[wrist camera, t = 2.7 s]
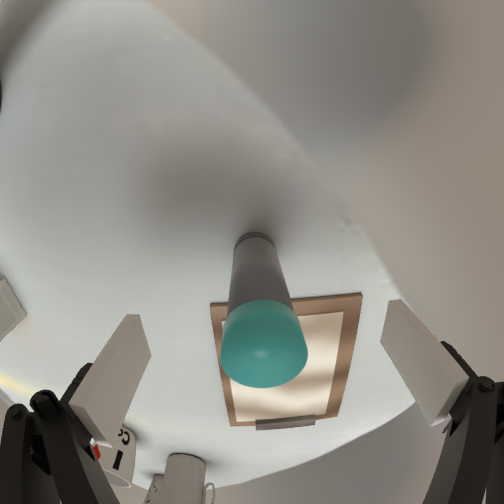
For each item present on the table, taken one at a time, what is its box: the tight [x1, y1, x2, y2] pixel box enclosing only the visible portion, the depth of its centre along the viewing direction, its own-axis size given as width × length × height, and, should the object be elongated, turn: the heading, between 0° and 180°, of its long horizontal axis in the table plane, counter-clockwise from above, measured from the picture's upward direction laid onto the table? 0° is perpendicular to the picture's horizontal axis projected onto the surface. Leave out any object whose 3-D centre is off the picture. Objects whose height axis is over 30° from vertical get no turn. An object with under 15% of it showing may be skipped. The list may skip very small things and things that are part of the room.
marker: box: [220, 232, 308, 388], centre depth 18 cm, size 4×4×14 cm
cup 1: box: [92, 426, 136, 488], centre depth 30 cm, size 8×8×10 cm
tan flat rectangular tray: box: [210, 293, 363, 430], centre depth 29 cm, size 20×15×2 cm
